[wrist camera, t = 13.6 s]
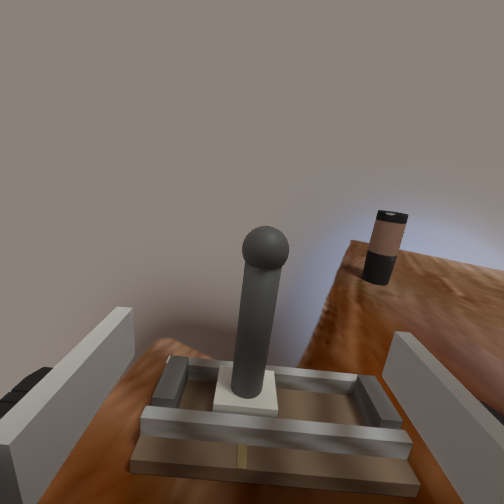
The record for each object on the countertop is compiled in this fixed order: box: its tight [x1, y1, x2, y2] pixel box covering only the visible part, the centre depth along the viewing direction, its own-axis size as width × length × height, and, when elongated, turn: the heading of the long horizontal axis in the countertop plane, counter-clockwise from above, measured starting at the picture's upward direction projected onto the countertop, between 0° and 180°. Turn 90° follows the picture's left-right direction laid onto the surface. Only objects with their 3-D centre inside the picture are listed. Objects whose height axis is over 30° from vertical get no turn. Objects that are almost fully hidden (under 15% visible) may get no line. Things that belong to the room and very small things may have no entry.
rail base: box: [130, 355, 420, 497], centre depth 26 cm, size 24×12×4 cm, turn 90°
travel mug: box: [362, 210, 408, 285], centre depth 72 cm, size 8×8×20 cm
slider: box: [213, 226, 289, 418], centre depth 24 cm, size 6×5×19 cm
